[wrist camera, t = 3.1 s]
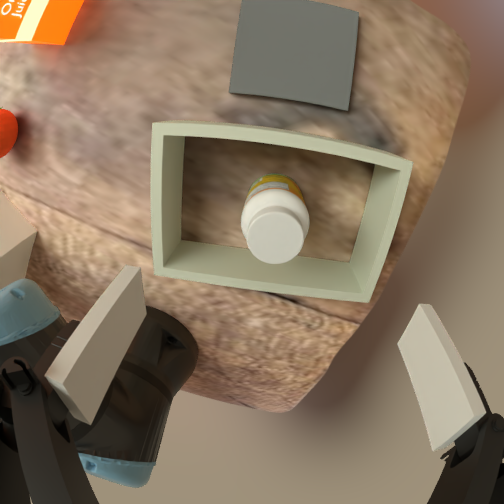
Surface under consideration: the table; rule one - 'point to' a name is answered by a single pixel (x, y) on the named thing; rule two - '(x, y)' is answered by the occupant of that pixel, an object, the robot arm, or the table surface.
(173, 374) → the robot arm
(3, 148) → the clementine
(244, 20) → the slate mat
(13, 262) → the milk
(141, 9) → the table surface
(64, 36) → the orange juice
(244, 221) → the supplement bottle
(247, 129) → the open box
